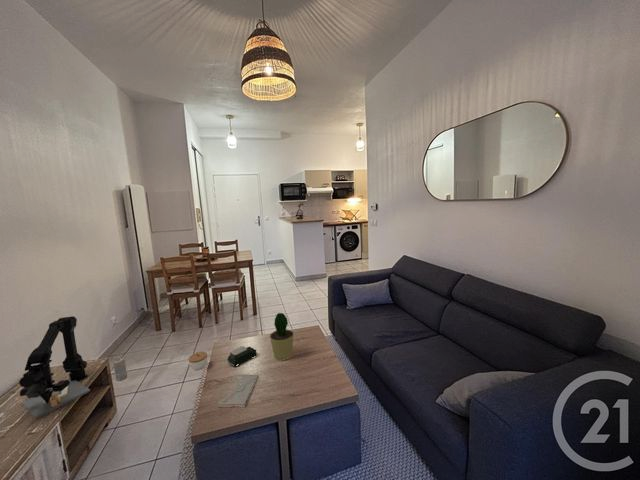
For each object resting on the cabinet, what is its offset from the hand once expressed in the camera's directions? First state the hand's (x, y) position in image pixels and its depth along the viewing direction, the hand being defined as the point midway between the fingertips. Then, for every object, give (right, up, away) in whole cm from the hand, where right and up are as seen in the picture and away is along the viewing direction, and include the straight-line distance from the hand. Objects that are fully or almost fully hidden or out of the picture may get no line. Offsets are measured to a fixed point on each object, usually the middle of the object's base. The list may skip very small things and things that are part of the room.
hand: (47, 402), depth 140 cm
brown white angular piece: (-1, -1, +5) cm, 5 cm away
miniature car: (+92, +6, +35) cm, 98 cm away
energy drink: (+23, +1, +22) cm, 31 cm away
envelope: (+99, +3, +5) cm, 99 cm away
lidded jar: (+66, +4, +29) cm, 72 cm away
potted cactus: (+118, +8, +37) cm, 124 cm away
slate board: (-3, -2, +7) cm, 8 cm away
